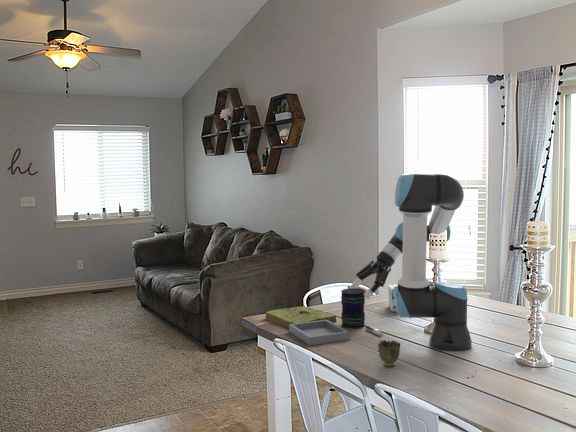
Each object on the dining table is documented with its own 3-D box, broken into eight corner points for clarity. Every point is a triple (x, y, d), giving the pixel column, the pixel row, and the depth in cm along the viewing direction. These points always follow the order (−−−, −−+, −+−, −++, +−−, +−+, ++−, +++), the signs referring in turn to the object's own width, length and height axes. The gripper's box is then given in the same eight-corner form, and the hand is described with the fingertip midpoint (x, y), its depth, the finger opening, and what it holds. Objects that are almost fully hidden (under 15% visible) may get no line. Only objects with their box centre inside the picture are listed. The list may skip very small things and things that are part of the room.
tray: (349, 339, 227) (349, 331, 227) (309, 345, 221) (309, 337, 221) (326, 326, 246) (326, 319, 246) (289, 331, 239) (289, 324, 239)
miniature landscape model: (304, 312, 273) (304, 301, 273) (336, 323, 254) (336, 311, 253) (265, 319, 261) (265, 308, 260) (295, 331, 241) (295, 320, 241)
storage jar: (363, 322, 252) (362, 288, 251) (366, 328, 242) (366, 293, 241) (340, 322, 252) (339, 288, 251) (342, 329, 242) (342, 293, 241)
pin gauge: (383, 334, 232) (381, 330, 231) (380, 337, 231) (377, 334, 231) (370, 328, 241) (368, 324, 241) (367, 331, 241) (364, 327, 240)
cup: (385, 360, 202) (385, 338, 202) (404, 365, 198) (404, 342, 197) (374, 366, 197) (373, 343, 196) (393, 371, 192) (393, 347, 191)
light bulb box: (406, 311, 269) (406, 288, 268) (391, 312, 269) (391, 289, 268) (402, 306, 279) (402, 284, 278) (388, 306, 279) (387, 284, 278)
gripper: (409, 266, 242) (378, 305, 238) (379, 257, 265) (350, 293, 261) (398, 254, 240) (367, 294, 236) (368, 246, 263) (339, 282, 259)
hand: (358, 293), depth 248 cm, fingers open, 13 cm apart
